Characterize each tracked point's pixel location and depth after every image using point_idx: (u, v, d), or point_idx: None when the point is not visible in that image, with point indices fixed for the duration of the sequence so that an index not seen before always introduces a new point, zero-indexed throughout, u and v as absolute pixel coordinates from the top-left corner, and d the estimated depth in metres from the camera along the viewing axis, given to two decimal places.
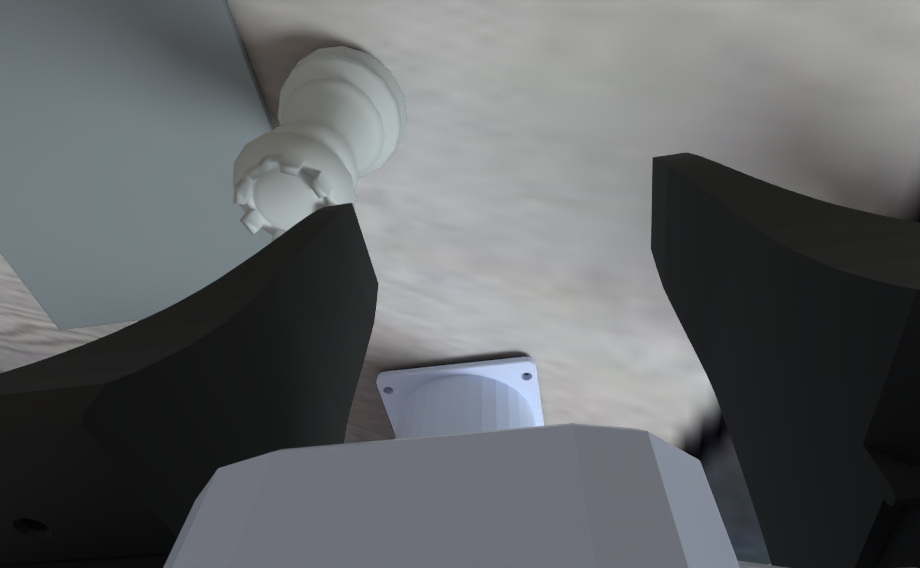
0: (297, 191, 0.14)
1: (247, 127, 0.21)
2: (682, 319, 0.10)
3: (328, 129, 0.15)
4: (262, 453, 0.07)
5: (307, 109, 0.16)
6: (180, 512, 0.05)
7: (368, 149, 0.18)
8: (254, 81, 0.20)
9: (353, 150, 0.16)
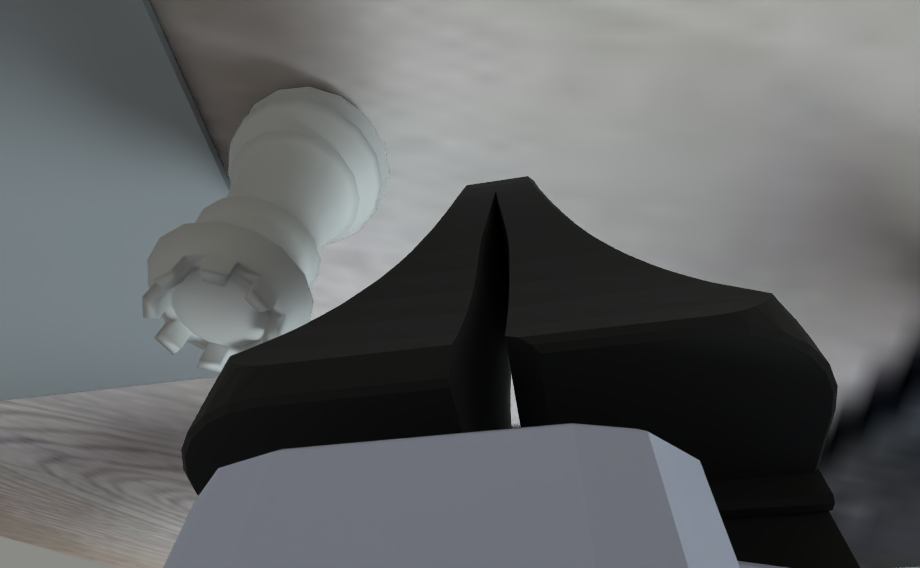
0: (230, 300, 0.10)
1: (196, 180, 0.17)
2: None
3: (278, 207, 0.12)
4: None
5: (255, 175, 0.13)
6: None
7: (338, 218, 0.14)
8: (201, 127, 0.16)
9: (315, 227, 0.13)
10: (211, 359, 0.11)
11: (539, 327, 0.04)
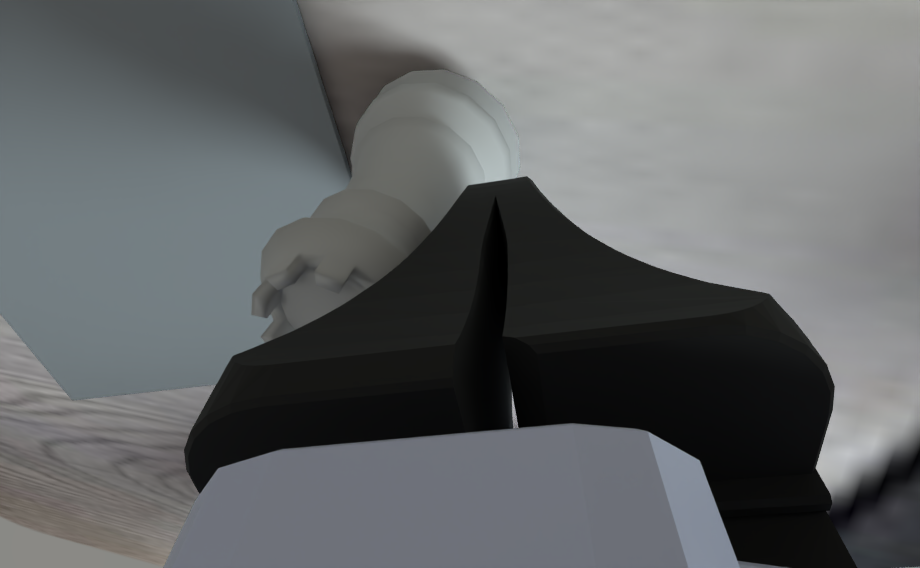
0: None
1: (316, 166, 0.16)
2: None
3: (403, 205, 0.10)
4: None
5: (381, 166, 0.12)
6: None
7: None
8: (328, 109, 0.15)
9: None
10: None
11: (536, 328, 0.04)
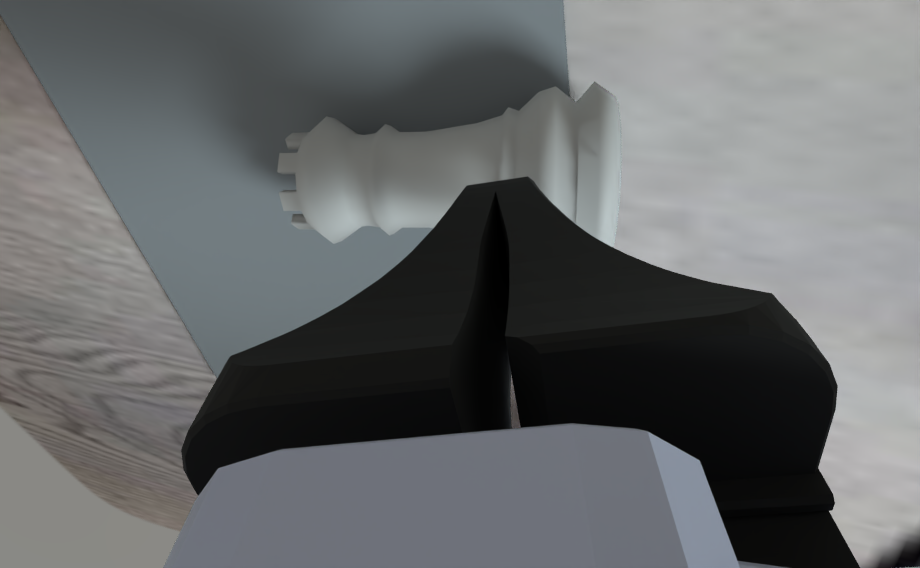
0: None
1: None
2: None
3: (373, 173, 0.13)
4: None
5: (437, 139, 0.13)
6: None
7: None
8: (567, 66, 0.14)
9: (410, 211, 0.14)
10: None
11: (539, 327, 0.04)
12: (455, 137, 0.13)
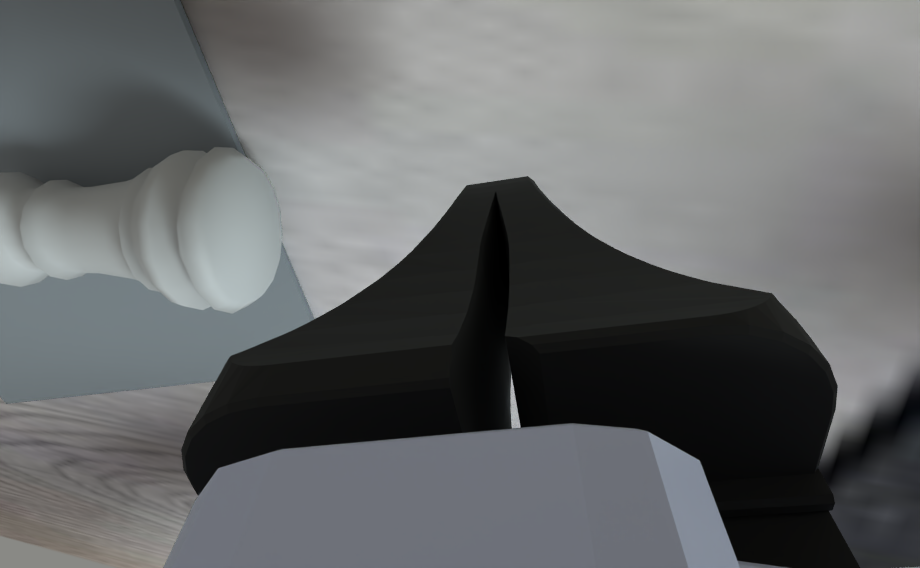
0: None
1: None
2: None
3: (21, 230, 0.14)
4: None
5: (83, 197, 0.15)
6: None
7: (129, 277, 0.15)
8: (228, 123, 0.16)
9: (67, 262, 0.15)
10: None
11: (539, 327, 0.04)
12: (97, 196, 0.14)
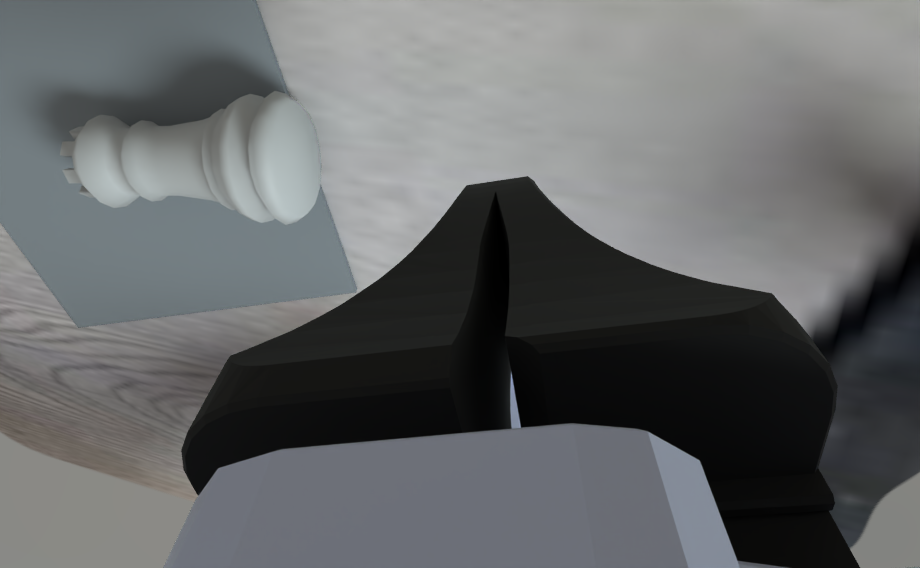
0: None
1: None
2: None
3: (122, 156, 0.18)
4: None
5: (170, 131, 0.19)
6: None
7: (203, 196, 0.19)
8: (280, 77, 0.20)
9: (156, 183, 0.19)
10: None
11: (539, 327, 0.04)
12: (181, 130, 0.18)
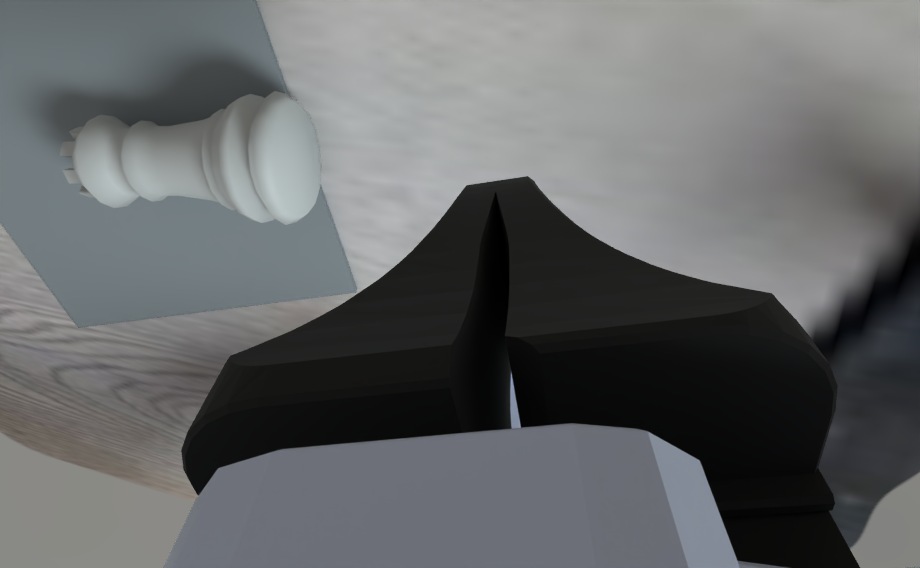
0: None
1: None
2: None
3: (122, 156, 0.18)
4: None
5: (170, 132, 0.19)
6: None
7: (203, 196, 0.19)
8: (280, 77, 0.20)
9: (156, 183, 0.19)
10: None
11: (539, 327, 0.04)
12: (181, 130, 0.18)
